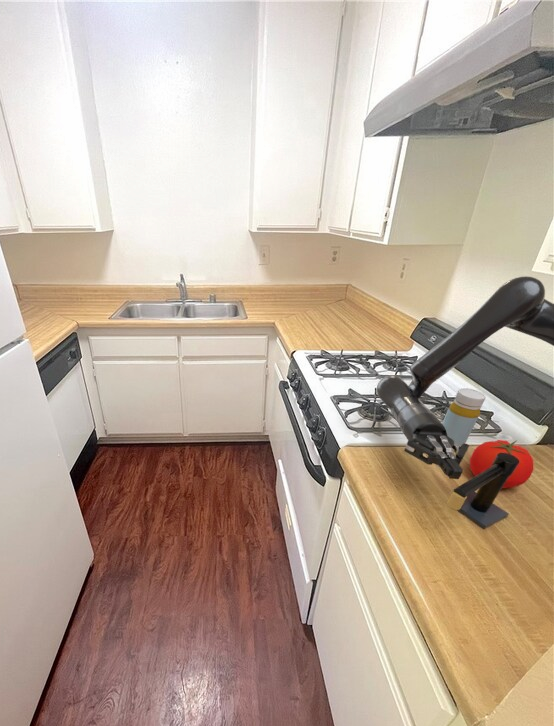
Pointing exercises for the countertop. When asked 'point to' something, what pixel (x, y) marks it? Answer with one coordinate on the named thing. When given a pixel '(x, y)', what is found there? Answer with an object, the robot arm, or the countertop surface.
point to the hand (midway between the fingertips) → (456, 475)
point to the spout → (483, 479)
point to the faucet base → (485, 504)
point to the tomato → (488, 453)
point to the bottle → (463, 414)
